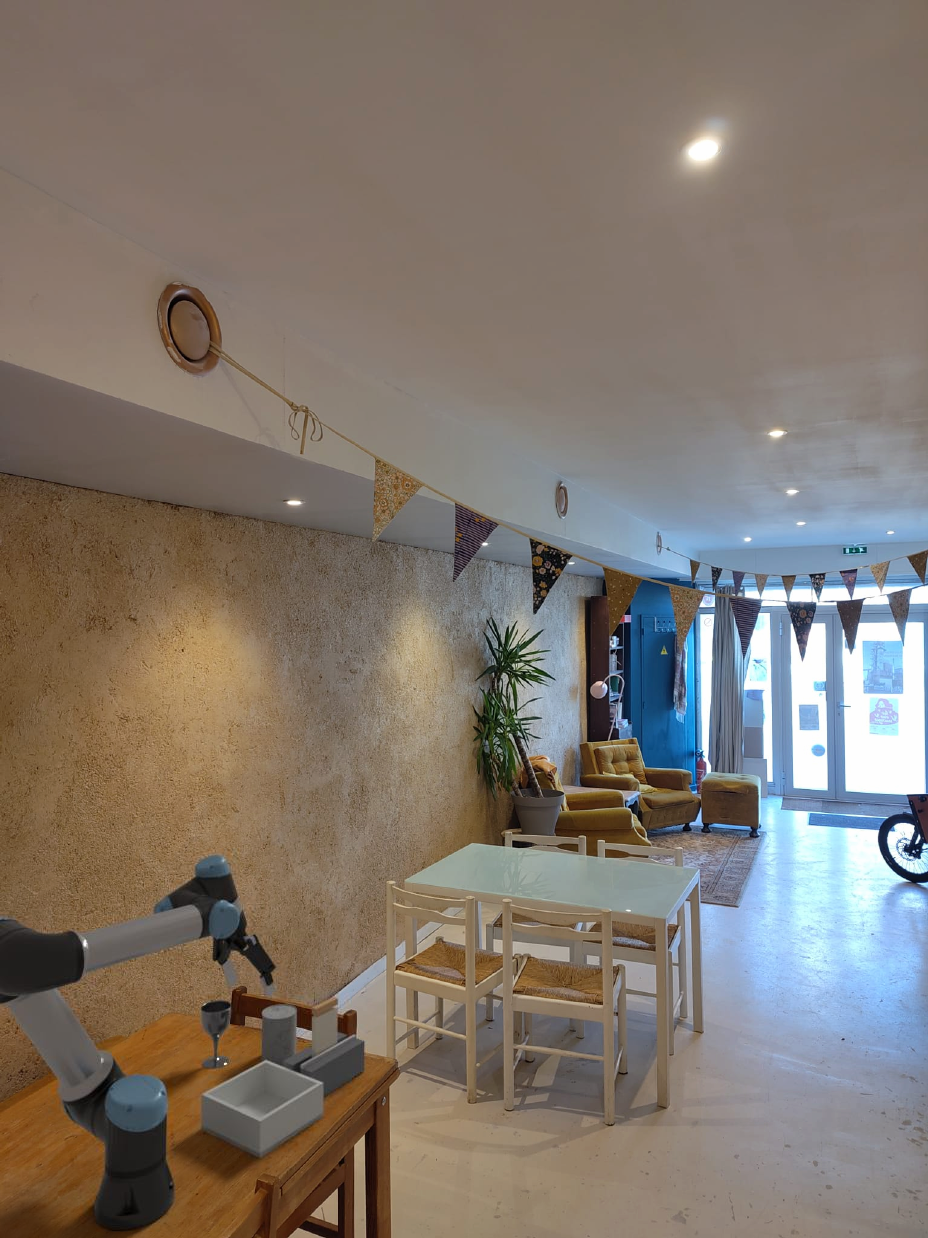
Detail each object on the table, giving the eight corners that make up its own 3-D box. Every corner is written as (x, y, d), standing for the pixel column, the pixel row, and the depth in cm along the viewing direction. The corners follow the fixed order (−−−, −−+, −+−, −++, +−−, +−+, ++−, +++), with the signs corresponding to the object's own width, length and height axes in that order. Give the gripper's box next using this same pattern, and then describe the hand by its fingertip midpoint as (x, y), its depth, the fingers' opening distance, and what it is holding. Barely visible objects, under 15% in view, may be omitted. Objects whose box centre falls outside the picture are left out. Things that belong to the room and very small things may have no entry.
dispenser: (311, 1105, 205) (311, 1069, 206) (282, 1093, 211) (282, 1058, 211) (364, 1071, 222) (364, 1038, 222) (336, 1061, 227) (336, 1028, 228)
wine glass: (194, 1067, 224) (194, 1010, 225) (211, 1053, 232) (212, 999, 232) (219, 1071, 222) (220, 1014, 222) (236, 1057, 229) (236, 1002, 230)
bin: (259, 1158, 184) (260, 1121, 184) (201, 1129, 195) (201, 1094, 195) (323, 1116, 200) (323, 1083, 201) (265, 1092, 211) (265, 1060, 212)
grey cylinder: (300, 1049, 234) (301, 1005, 235) (290, 1066, 225) (290, 1020, 225) (268, 1047, 235) (268, 1003, 236) (256, 1064, 226) (256, 1018, 226)
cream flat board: (315, 1074, 213) (316, 1009, 213) (311, 1072, 214) (311, 1007, 214) (337, 1061, 219) (337, 998, 220) (332, 1059, 220) (333, 997, 221)
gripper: (274, 914, 198) (298, 989, 203) (205, 900, 212) (229, 970, 217) (252, 933, 192) (277, 1010, 197) (182, 918, 206) (207, 990, 211)
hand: (252, 989), depth 207 cm, fingers open, 13 cm apart
